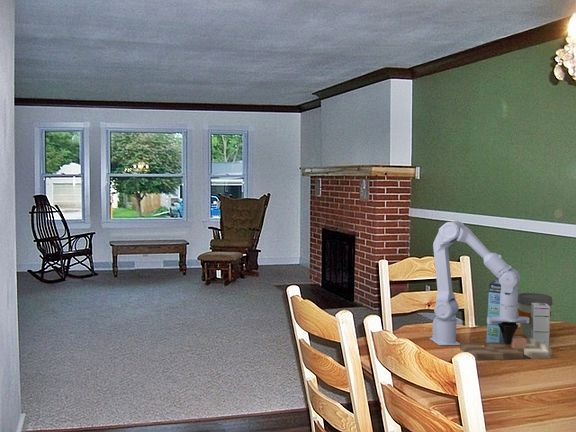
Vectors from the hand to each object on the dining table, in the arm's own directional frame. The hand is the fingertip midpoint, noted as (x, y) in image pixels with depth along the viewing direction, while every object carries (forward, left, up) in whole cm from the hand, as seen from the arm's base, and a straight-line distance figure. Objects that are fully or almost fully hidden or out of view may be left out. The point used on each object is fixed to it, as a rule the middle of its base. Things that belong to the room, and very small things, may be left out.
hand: (507, 344), depth 218 cm
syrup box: (-10, +17, -3) cm, 20 cm away
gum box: (-15, +4, -3) cm, 15 cm away
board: (+1, -2, -3) cm, 4 cm away
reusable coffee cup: (-23, +22, -3) cm, 32 cm away
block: (0, +3, -1) cm, 3 cm away
